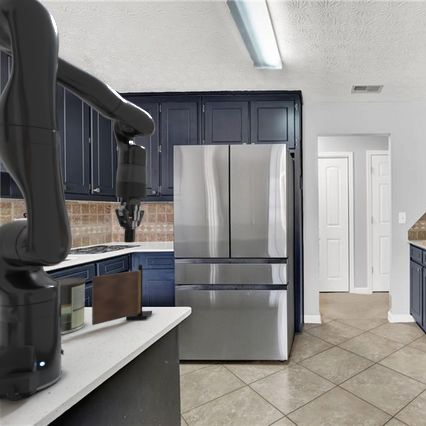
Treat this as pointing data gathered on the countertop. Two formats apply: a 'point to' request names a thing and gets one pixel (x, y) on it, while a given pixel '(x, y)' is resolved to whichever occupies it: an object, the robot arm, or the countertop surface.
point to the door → (115, 296)
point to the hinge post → (143, 314)
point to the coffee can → (72, 304)
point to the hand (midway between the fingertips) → (129, 242)
